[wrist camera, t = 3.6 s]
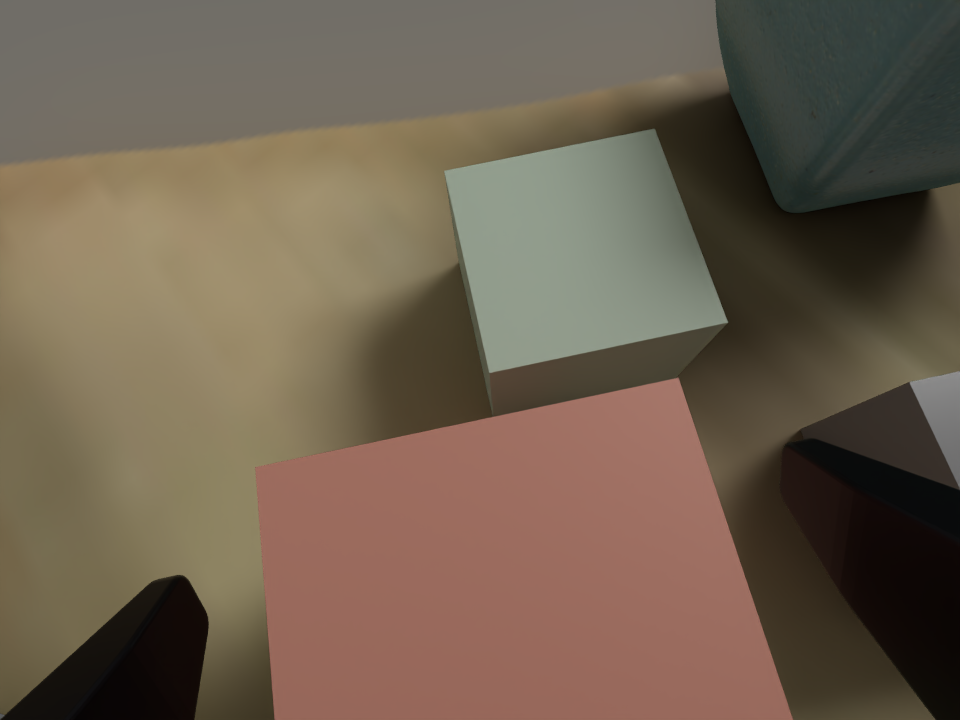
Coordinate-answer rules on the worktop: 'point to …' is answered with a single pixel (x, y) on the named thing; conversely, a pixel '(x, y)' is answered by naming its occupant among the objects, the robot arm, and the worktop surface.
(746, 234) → the worktop surface
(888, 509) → the robot arm
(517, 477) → the brick-red block
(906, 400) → the light gray block
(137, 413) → the worktop surface
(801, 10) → the flower pot
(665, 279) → the sage block
